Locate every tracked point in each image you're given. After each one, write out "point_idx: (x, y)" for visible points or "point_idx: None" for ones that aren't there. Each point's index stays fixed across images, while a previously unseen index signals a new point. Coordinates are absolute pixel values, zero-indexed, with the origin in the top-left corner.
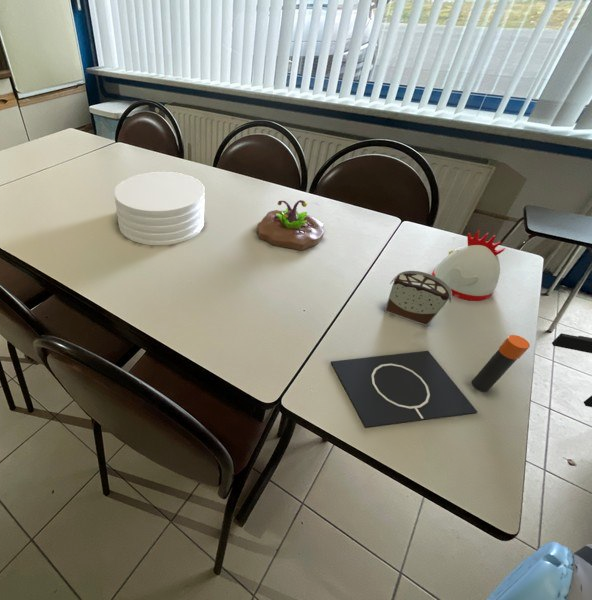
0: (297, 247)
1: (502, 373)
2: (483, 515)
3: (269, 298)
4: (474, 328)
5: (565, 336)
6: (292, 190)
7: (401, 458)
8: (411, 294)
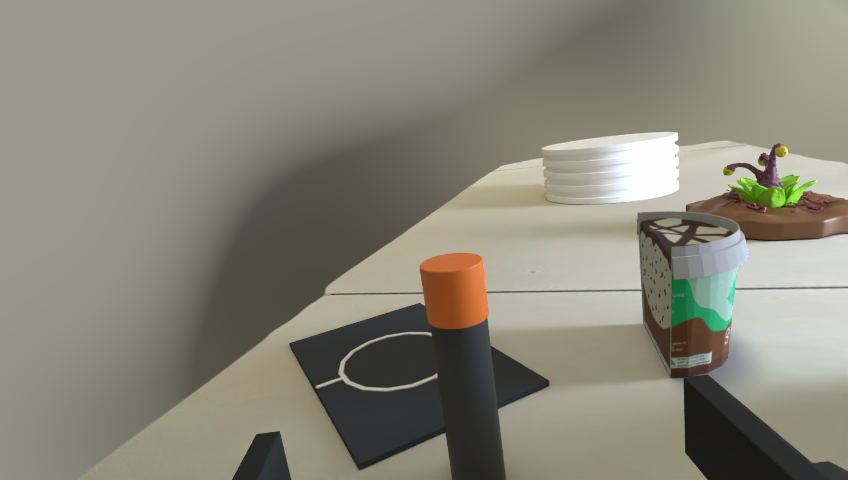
0: None
1: (443, 398)
2: (90, 473)
3: (531, 252)
4: None
5: (690, 384)
6: None
7: (230, 380)
8: (651, 261)
